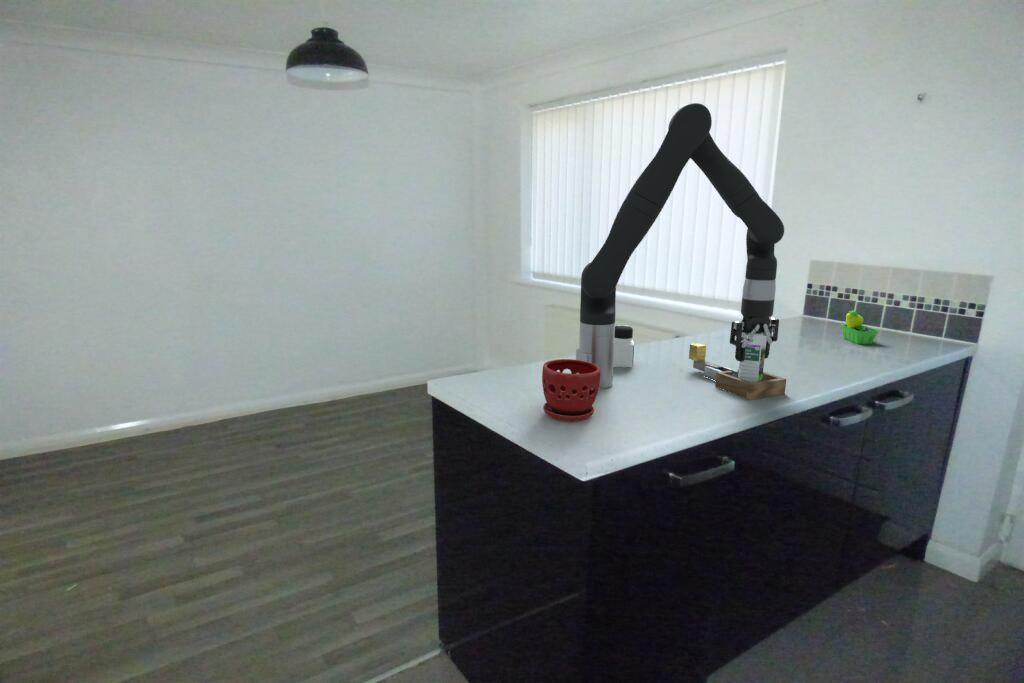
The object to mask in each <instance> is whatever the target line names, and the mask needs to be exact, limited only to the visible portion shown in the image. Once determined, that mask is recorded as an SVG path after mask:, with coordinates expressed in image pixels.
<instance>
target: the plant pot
mask: <svg viewBox="0 0 1024 683" xmlns="http://www.w3.org/2000/svg"><path fill="white" fill-rule="evenodd" d="M565 370H569V371H570V373H568V372H567V373H566V372H564V371H565ZM576 373H579V374H576ZM541 375H542V376H541V381H542V384H541V385H542V391H543V396H544V399H545V401H546V402H545V403H544V404H543V411H544V413H545V414H546V415H547V416H548V417H550V418H551V419H553V420H556V421H560V422H561V421H562V422H569V423H571V422H582V421H584V420H587V419H589V418H591V417H592V415H593V414H594V412H595V408H594V407H593V405H594V403H595V401H596V399H597V397H598V393H599V390H600V389H599V384H600V375H601V369H600V367H599V366H597V365H596V364H593V363H590V362H586V361H581V360H576V359H573V358H571V359H570V358H566V359H565V358H560V359H553V360H552V359H551V360H548V361H545V362H544V363H543V365H542V374H541ZM592 387H594V388H592Z"/></svg>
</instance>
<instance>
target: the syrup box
mask: <svg viewBox="0 0 1024 683" xmlns="http://www.w3.org/2000/svg"><path fill="white" fill-rule="evenodd" d="M744 335H748V333H745V332H743V336H744ZM743 340H744V338H742V341H741V342H743ZM766 340H767V334H766V333H755V334H754V336H753V337H752V339H751V340H750V341H748V343H747V344H746V346H745V358H744V361H743V362H740V361H738V362H739V363H738V369H739V372H738V378H739V379H742V380H745V381H748V382H750V383H754V382H760V381H762V377H763V372H764V366H765V359H766V358H765V350H766ZM764 358H765V359H764Z"/></svg>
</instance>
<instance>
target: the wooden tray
mask: <svg viewBox="0 0 1024 683" xmlns="http://www.w3.org/2000/svg"><path fill="white" fill-rule="evenodd" d="M737 371H738V372H739V368H738V369H737ZM715 386H716V387H715V388H717V387H719V388H718V389H720V388H721V389H720V390H722V389H724V390H723V391H725V390H726V391H725V392H728V391H729V392H728V393H730V392H731V393H730V394H733V393H734V394H733V395H735V394H736V396H738V397H741V398H743V397H744V399H746V400H748V399H749V400H748V401H753V400H759V399H763V398H771V397H774V396H776V397H777V396H781V395H785V394H786V386H787V378H784V377H781V376H778V375H775V374H773V373H772V374H771V373H769V372H765V371H763V377H762V381H760V382H754V383H750V382H748V381H745V380H742V379H739V378H738V373H737V378H736V377H733V376H732V371H722V372H716V382H715Z"/></svg>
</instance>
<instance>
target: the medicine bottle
mask: <svg viewBox="0 0 1024 683" xmlns="http://www.w3.org/2000/svg"><path fill="white" fill-rule="evenodd" d="M633 331H634V328H633V327H631V325H630V326H629V325H625V324H624V325H623V324H622V325H620V324H618V325H615V335H614V360H613V368H625V367H630V368H629V369H632V368H631V367H634V358H635V357H634V356H635V355H634V354H635V342H634V340H633V336H634V334H633V333H634V332H633Z"/></svg>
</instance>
